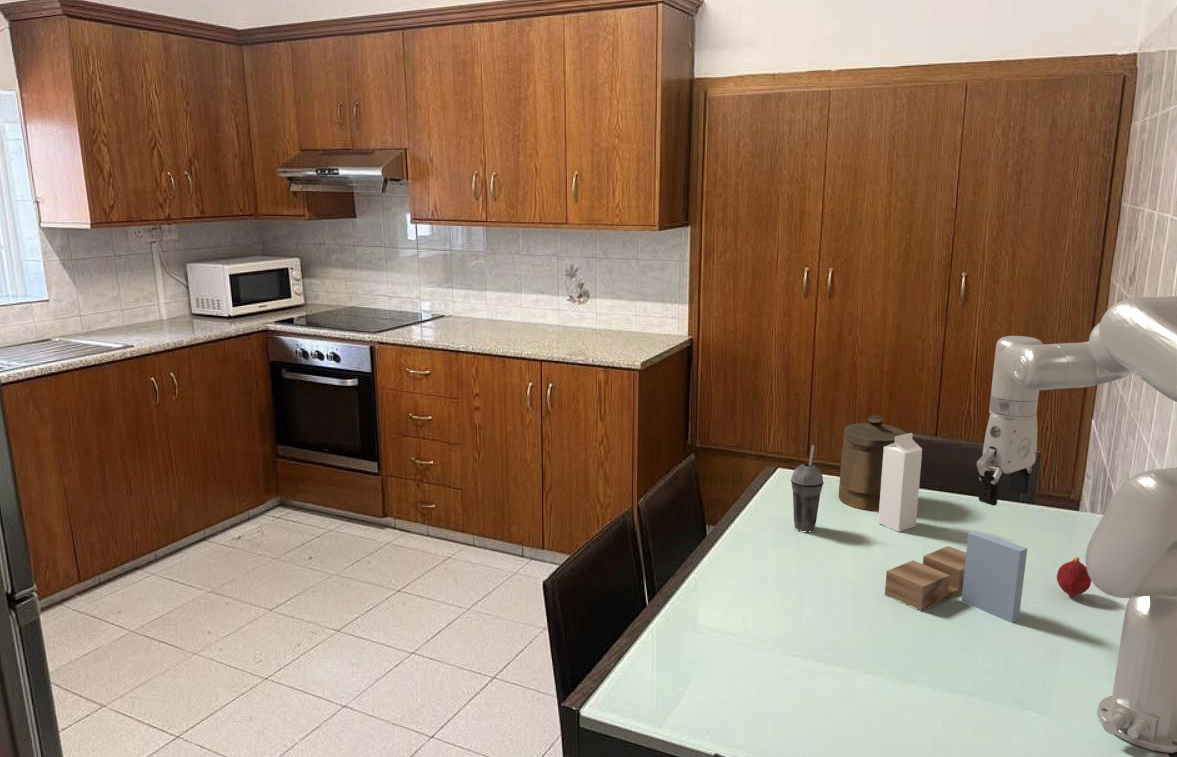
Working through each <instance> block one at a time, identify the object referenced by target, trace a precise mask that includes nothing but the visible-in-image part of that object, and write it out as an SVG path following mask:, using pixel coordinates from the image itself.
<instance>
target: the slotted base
mask: <svg viewBox="0 0 1177 757" xmlns="http://www.w3.org/2000/svg"><path fill="white" fill-rule="evenodd" d="M922 559H923V561H922V563H921V562H918V561H916V560H914V559H913V560H911V561H908V562H905V563H902V564H900V565H897V566H895V567H894V568H890V569H889V570H886V574H885V576H886V577H885V586H884V588H885V589H884V595H885V594H887V595H889V596H891V597H893V598H895V599H897V600H900V601H902V602H904V603H906V604H908V605H911V606H913V607H915V608H917V609H919V610H923V609H925V610H927V609H929V608H931V607H934V606H936V605H937V603H938V604H940V603H942V602H944V601H946V600H949V599H950V598H952V597H956V596H957V595H959V594H961V593H962V590H963V580H964V570H965V560H966V551H963V550H960V549H957V548H954V547H951V546H949V545H947V546H945V547H942V548H940V549H938V550H935V551H931V552H930V553H927V554H925V555H923V558H922ZM889 596H888V597H889ZM891 597H890V598H891ZM893 598H892V599H893ZM895 599H894V600H895ZM897 600H896V601H897ZM902 602H901V603H902ZM939 602H940V603H939ZM904 603H903V604H904ZM906 604H905V605H906ZM935 604H936V605H935ZM908 605H907V606H908ZM930 606H931V607H930ZM913 607H912V608H913ZM928 607H929V608H928ZM915 608H914V609H915ZM926 608H927V609H926ZM917 609H916V610H917ZM919 610H918V611H919ZM923 611H924V610H923Z"/></svg>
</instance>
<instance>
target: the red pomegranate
mask: <svg viewBox="0 0 1177 757" xmlns="http://www.w3.org/2000/svg"><path fill="white" fill-rule="evenodd" d="M1056 582H1057V583H1058V586H1059V587H1060V588H1061V590H1062V591H1063V592H1064V593H1066V594H1067V595H1068V596H1069V597H1076V596H1080V595H1082V594H1084V593H1085V592H1087V591H1088V590H1089V588H1091V586H1092V581H1091V579H1090V577H1089V575H1088V572H1087V569H1086V565H1084V564H1083V563H1082V562H1080V558H1079V557H1078V556H1074V557H1073V558H1072V560H1071V561H1068V562H1065V563H1064V564H1062V565H1061V566H1060V567H1058V570H1057V574H1056Z"/></svg>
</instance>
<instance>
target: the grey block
mask: <svg viewBox="0 0 1177 757" xmlns="http://www.w3.org/2000/svg"><path fill="white" fill-rule="evenodd" d="M966 543H967V544H966V551H965V553H966V560H965V570H964V580H963V590H962V592H961V593H962V594H961V601H960V602H962V603H964V604H967V605H969V604H970V605H969V606H971V605H972V607H974V608H976V609H978V608H979V610H981V611H983V612H986V613H988V614H990V615H992V616H995V617H997V618H998V619H1002V620H1003V621H1006V622H1008V623H1011V624H1012V623H1014V622H1016V621H1018V620H1019V619H1020V614H1021V613H1020V612H1021V605H1022V604H1021V603H1022V595H1023V590H1024V589H1023V588H1024V587H1023V586H1024V580H1025V572H1026V562H1027V555H1028V554H1027V553H1028V548H1027V547H1025V546H1022V545H1019V544H1016V543H1013V542H1011V541H1008V540H1005V539H1003V538H999V537H997V536H993V535H991V534H988V533H985V532H982V531H980V530H977V529H975V530H972V531H970V532H968V533H967V542H966Z"/></svg>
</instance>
